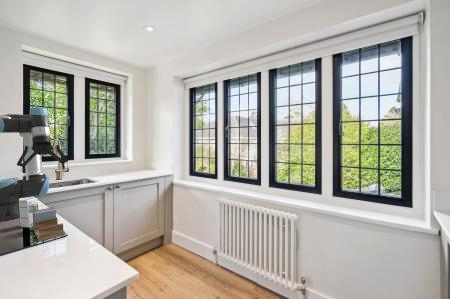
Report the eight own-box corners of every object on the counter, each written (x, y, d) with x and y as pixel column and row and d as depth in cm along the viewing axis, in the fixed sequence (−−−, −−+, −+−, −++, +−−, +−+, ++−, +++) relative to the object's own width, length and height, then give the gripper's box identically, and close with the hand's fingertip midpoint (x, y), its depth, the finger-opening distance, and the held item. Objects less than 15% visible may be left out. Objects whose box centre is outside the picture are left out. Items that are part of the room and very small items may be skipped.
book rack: (32, 229, 121) (31, 211, 121) (55, 224, 128) (54, 207, 128) (38, 241, 105) (37, 220, 105) (65, 235, 113) (64, 215, 112)
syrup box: (28, 227, 124) (27, 200, 123) (20, 226, 125) (18, 200, 124) (39, 223, 129) (38, 197, 129) (30, 223, 130) (29, 197, 130)
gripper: (7, 134, 108) (11, 179, 104) (71, 134, 125) (76, 173, 121) (8, 139, 113) (11, 182, 110) (69, 138, 130) (73, 175, 127)
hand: (45, 177), depth 115 cm, fingers open, 13 cm apart
